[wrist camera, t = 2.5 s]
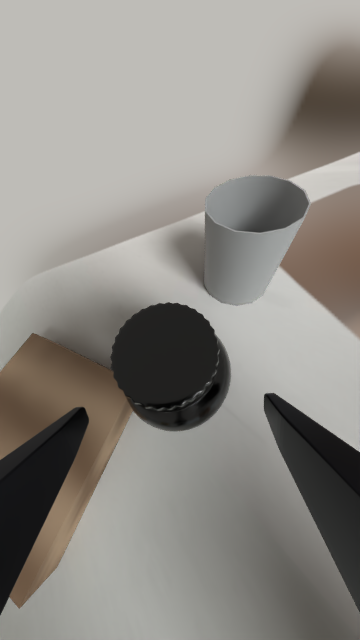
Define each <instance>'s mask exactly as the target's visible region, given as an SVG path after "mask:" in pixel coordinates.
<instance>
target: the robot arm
mask: <svg viewBox="0 0 360 640" xmlns="http://www.w3.org/2000/svg"><path fill="white" fill-rule="evenodd" d="M264 411H265V414H266V417H267V419H268V422H269V424H270V427H271V430H272V432H273V435H274V438H275V440H276V443H277V445H278V448H279V450H280V452H281V454H282V456H283V458H284V460H285V462H286V464H287V466H288V468H289V470H290V472H291V474H292V476H293V478H294V480H295V483H296V485H297V487H298V489H299V491H300V493H301V495H302V497H303V499H304V501H305V503H306V505H307V507H308V509H309V511H310V513H311V515H312V517H313V519H314V521H315V523H316V525H317V527H318V529H319V531H320V533H321V535H322V537H323V539H324V541H325V543H326V545H327V547H328V549H329V551H330V553H331V555H332V557H333V559H334V561H335V563H336V565H337V568H338V570H339V572H340V574H341V576H342V578H343V580H344V582H345V584H346V586H347V588H348V590H349V592H350V594H351V596H352V598H353V600H354V602H355V604H356V606H357V608H358V610H359V612H360V452H359V451H357V450H356V449H354V448H353V447H352V446H350V445H349V444H347V443H346V442H344V441H343V440H341V439H340V438H338V437H337V436H336V435H334V434H333V433H331V432H330V431H328V430H327V429H325V428H324V427H323V426H321V425H320V424H318V423H317V422H315V421H314V420H312V419H311V418H309V417H308V416H307V415H305V414H304V413H302V412H301V411H299V410H298V409H296V408H295V407H294V406H292V405H291V404H289V403H288V402H286V401H285V400H283V399H282V398H280V397H279V396H278V395H276V394H274V393H266V394H265V395H264ZM88 424H89V417H88V415H87V412H86V409H85V408H84V407H75V408H73V409H72V410H71V411H69V412H68V413H66V414H65V415H64V416H62V417H61V418H59V419H58V420H56V421H55V422H54V423H52V424H51V425H49V426H48V427H46V428H45V429H44V430H42V431H41V432H39V433H38V434H36V435H35V436H34V437H32V438H31V439H29V440H28V441H26V442H25V443H24V444H22V445H21V446H19V447H18V448H16V449H15V450H14V451H12V452H11V453H9V454H8V455H6V456H5V457H4V458H2V459H1V460H0V615H1V613H2V611H3V609H4V607H5V604H6V602H7V600H8V598H9V596H10V594H11V592H12V590H13V588H14V586H15V584H16V581H17V579H18V577H19V575H20V573H21V571H22V569H23V567H24V565H25V563H26V560H27V558H28V556H29V554H30V552H31V550H32V548H33V546H34V544H35V542H36V540H37V537H38V535H39V533H40V531H41V529H42V527H43V525H44V523H45V521H46V519H47V516H48V514H49V512H50V510H51V508H52V506H53V504H54V502H55V500H56V498H57V496H58V493H59V491H60V489H61V487H62V485H63V483H64V481H65V479H66V477H67V475H68V472H69V470H70V468H71V466H72V464H73V462H74V460H75V457H76V455H77V453H78V450H79V447H80V445H81V442H82V440H83V437H84V434H85V432H86V429H87V427H88Z"/></svg>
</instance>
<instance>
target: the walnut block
mask: <svg viewBox="0 0 360 640" xmlns="http://www.w3.org/2000/svg"><path fill="white" fill-rule="evenodd" d="M113 374H114V372H113V371H112V370H110V369H108V368H106V367H104V366H102V365H100V364H98V363H96V362H94V361H92V360H90V359H88V358H86V357H84V356H82V355H79V354H77V353H75V352H73V351H71V350H69V349H67V348H65V347H63V346H61V345H59V344H57V343H55V342H53V341H51V340H48V339H46V338H44V337H41V336H39V335H37V334H34V333H32V334H31V336H30V337H29V338H28V339H27V340H26V342H25V343H24V344H23V345H22V346H21V348H20V349H19V350H18V351H17V352H16V354H15V355H14V356H13V357H12V358H11V360H10V361H9V362H8V363H7V364H6V366H5V367H4V368H3V369H2V370H1V372H0V460H1V459H2V458H4V457H5V456H6V455H8V454H9V453H11V452H12V451H14V450H15V449H16V448H18V447H19V446H21V445H22V444H24V443H25V442H26V441H28V440H29V439H31V438H32V437H34V436H35V435H36V434H38V433H39V432H41V431H42V430H44V429H45V428H46V427H48V426H49V425H51V424H52V423H54V422H55V421H56V420H58V419H59V418H61V417H62V416H64V415H65V414H66V413H68V412H69V411H71V410H72V409H73V408H75V407H84V408H85V409H86V412H87V415H88V417H89V424H88V427H87V429H86V432H85V434H84V437H83V440H82V442H81V445H80V447H79V450H78V453H77V455H76V457H75V460H74V462H73V464H72V466H71V468H70V470H69V472H68V475H67V477H66V479H65V481H64V483H63V485H62V487H61V489H60V491H59V493H58V496H57V498H56V500H55V502H54V504H53V506H52V508H51V510H50V512H49V514H48V516H47V519H46V521H45V523H44V525H43V527H42V529H41V531H40V533H39V535H38V537H37V540H36V542H35V544H34V546H33V548H32V550H31V552H30V554H29V556H28V558H27V560H26V563H25V565H24V567H23V569H22V571H21V573H20V575H19V577H18V579H17V581H16V584H15V586H14V588H13V590H12V592H11V594H10V596H9V597H10V598H11V599H12V601H13V602H14V603H15V604H16V605H17V607H18V608H19V609H20V607H21V606H22V605H23V604H24V603H25V602H26V601H27V600H28V599H29V598H30V596H31V595H32V594H33V593H34V592H35V591H36V590H37V589H38V588H39V587H40V585H41V584H42V583H43V582H44V581H45V580H46V579H47V578H48V577H49V576H50V574H51V573H52V572H53V571H54V570H55V569H56V568H57V566H58V564H59V562H60V560H61V558H62V556H63V554H64V552H65V550H66V548H67V546H68V544H69V541H70V539H71V537H72V535H73V533H74V531H75V529H76V527H77V525H78V523H79V521H80V519H81V517H82V515H83V513H84V510H85V508H86V506H87V504H88V502H89V500H90V498H91V496H92V494H93V492H94V490H95V488H96V486H97V484H98V482H99V479H100V477H101V475H102V473H103V471H104V469H105V467H106V465H107V463H108V461H109V459H110V457H111V455H112V453H113V451H114V448H115V446H116V444H117V442H118V440H119V438H120V436H121V434H122V432H123V430H124V428H125V426H126V424H127V422H128V419H129V417H130V415H131V413H132V411H133V410H132V408H131V407H130V405H129V403H128V402H127V399H126V397H125V394H124V392H123V390H121V389H119V388H118V384H117V381H116V380H115V379H114V378H113Z"/></svg>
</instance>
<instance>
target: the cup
mask: <svg viewBox="0 0 360 640" xmlns="http://www.w3.org/2000/svg"><path fill="white" fill-rule="evenodd" d="M310 205H311V203H310V200H309V198H308V196H307V193H306V191H305V190H304V189H302V188H301V187H299V186H298V185H296V184H295V183H293V182H292V181H289V180H286V179H282V178H278V177H274V176H256V175H249V176H245V177H240V178H235V179H231V180H228V181H226V182H225V183H223V184H221V185H219V186H217V187H215V188H214V189H213V190H212V191H211V193H210V194H209V195H208V196H207V197H206V200H205V265H204V285H205V287H206V289H207V291H208V292H209V294H210V295H211V296H212V297H214V298H215V299H217V300H218V301H220V302H221V303H225V304H230V305H236V306H238V305H243V304H249V303H252V302H254V301H255V300H257V299H258V298H260V297H261V296H263V294H264V292H265V290H266V289H267V287H268V285H269V283H270V281H271V279H272V277H273V276H274V274H275V272H276V270H277V268H278V266H279V264H280V262H281V261H282V259H283V257H284V255H285V253H286V251H287V250H288V248H289V246H290V244H291V242H292V240H293V238H294V236H295V235H296V233H297V231H298V229H299V227H300V226H301V224H302V222H303V220H304V218H305V216H306V214H307V211H308V209H309V207H310Z"/></svg>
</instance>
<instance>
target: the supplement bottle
mask: <svg viewBox="0 0 360 640" xmlns="http://www.w3.org/2000/svg"><path fill="white" fill-rule="evenodd" d="M112 351H113V352H112V354H111V360H112V364H111V369H112V370H113V372H114V374H113V378H114V379H115V380H116V381H117V384H118V388H119V389H121V390H123V392H124V394H125V397H126V399H127V402H128V403H129V405H130V407H131V408H132V410H133V411H134V412H135V413H136V415H137V416H138V417H139V418H141V419H142V420H143V421H144V422H146V423H147V424H149V425H151V426H153V427H155V428H158V429H161V430H165V431H184V430H189V429H192V428H195V427H197V426H199V425H201V424H203V423H204V422H206V421H207V420H208V419H210V418H211V417H212V416H213V415H214V414H215V413H216V412H217V411H218V409H219V408H220V406H221V405H222V403H223V402H224V400H225V398H226V395H227V393H228V389H229V386H230V379H231V367H230V361H229V357H228V354H227V351H226V349H225V347H224V345H223V344H222V342H221V341H220V339H219V338H218V337H217V336H216V334H215V331H214V329H213V328H212V327H211V326H210V323H209V321H208V320H206V319H205V318H204V316H203V315H202V314H200V313H198V312H197V311H196V310H195V309H192V308H189V307H188V306H187V305H180V304H178V303H174V304H172V303H169V302H168V303H165V304H162V303H159V304H157V305H152V306H149V307H148V308H146V309H142V310H141V311H140V312H139V313H136V314H134V315H133V316H132V318H131V319H129V320H127V321H126V323H125V325H124V326H123V327H122V328H120V331H119V334H118V335H117V336H116V337H115V343H114V345H113V346H112Z"/></svg>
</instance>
